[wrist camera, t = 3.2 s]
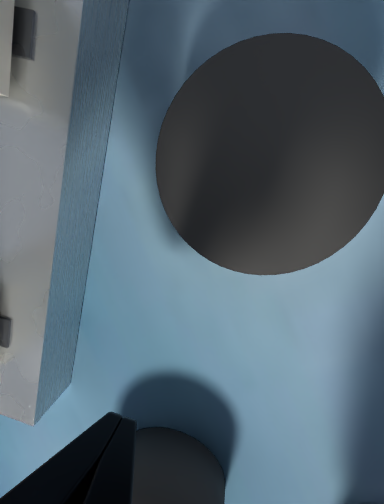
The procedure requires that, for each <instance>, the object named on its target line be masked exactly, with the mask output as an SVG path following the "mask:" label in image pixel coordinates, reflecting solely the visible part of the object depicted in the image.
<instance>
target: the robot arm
mask: <svg viewBox="0 0 384 504" xmlns="http://www.w3.org/2000/svg"><path fill="white" fill-rule="evenodd" d="M136 428H137V422H136V420H134V419H131V418H128V417H123V416H122V415H120V414H117V413H114V412H109V413H107V414H106V415H105V416H103V417H102V418H101V419H99V420H98V421H97V422H96V423H94V424H93V425H92V426H91V427H89V428H88V429H87V430H86V431H84V432H83V433H82V434H81V435H79V436H78V437H77V438H76V439H74V440H73V441H72V442H70V443H69V444H68V445H67V446H65V447H64V448H63V449H62V450H60V451H59V452H58V453H57V454H55V455H54V456H53V457H52V458H50V459H49V460H48V461H47V462H45V463H44V464H43V465H42V466H40V467H39V468H38V469H36V470H35V471H34V472H33V473H31V474H30V475H29V476H28V477H26V478H25V479H24V480H23V481H21V482H20V483H19V484H18V485H16V486H15V487H14V488H13V489H11V490H10V491H9V492H7V493H6V494H5V495H4V496H2V497H1V498H0V504H132V495H133V478H134V461H135V444H136Z"/></svg>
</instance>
